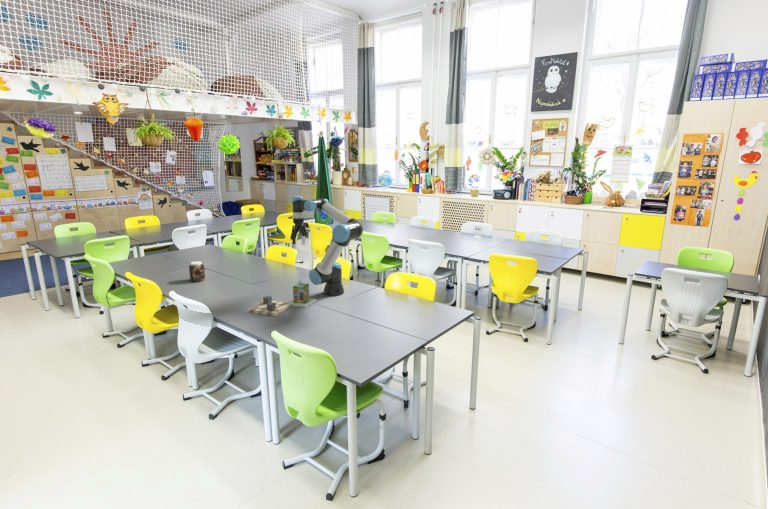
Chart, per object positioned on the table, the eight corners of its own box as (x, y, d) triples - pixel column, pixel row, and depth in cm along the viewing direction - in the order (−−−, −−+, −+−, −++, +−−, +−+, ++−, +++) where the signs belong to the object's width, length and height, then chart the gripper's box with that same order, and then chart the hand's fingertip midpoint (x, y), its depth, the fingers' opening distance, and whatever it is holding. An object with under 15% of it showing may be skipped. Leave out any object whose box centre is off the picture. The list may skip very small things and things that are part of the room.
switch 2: (275, 308, 265) (275, 302, 264) (272, 310, 261) (272, 304, 260) (270, 307, 266) (270, 302, 265) (267, 310, 263) (266, 304, 262)
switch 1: (271, 301, 277) (271, 296, 276) (268, 303, 274) (268, 298, 273) (266, 301, 279) (266, 295, 278) (263, 303, 275) (263, 297, 274)
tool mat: (316, 300, 289) (316, 298, 288) (305, 307, 275) (305, 305, 275) (297, 297, 293) (297, 296, 293) (286, 304, 279) (286, 303, 279)
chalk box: (306, 303, 279) (305, 282, 276) (293, 302, 280) (292, 282, 277) (309, 298, 288) (309, 278, 285) (297, 298, 289) (296, 278, 286)
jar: (186, 281, 328) (184, 263, 325) (197, 277, 339) (195, 260, 335) (198, 283, 324) (196, 264, 321) (208, 279, 335) (207, 261, 332)
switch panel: (290, 306, 277) (290, 303, 276) (274, 316, 259) (274, 313, 259) (265, 302, 283) (265, 299, 282) (248, 312, 265) (248, 309, 265)
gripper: (302, 215, 307) (302, 242, 312) (284, 219, 284) (285, 249, 289) (311, 215, 305) (311, 243, 310) (294, 220, 282) (295, 250, 287)
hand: (299, 246), depth 299 cm, fingers open, 13 cm apart
